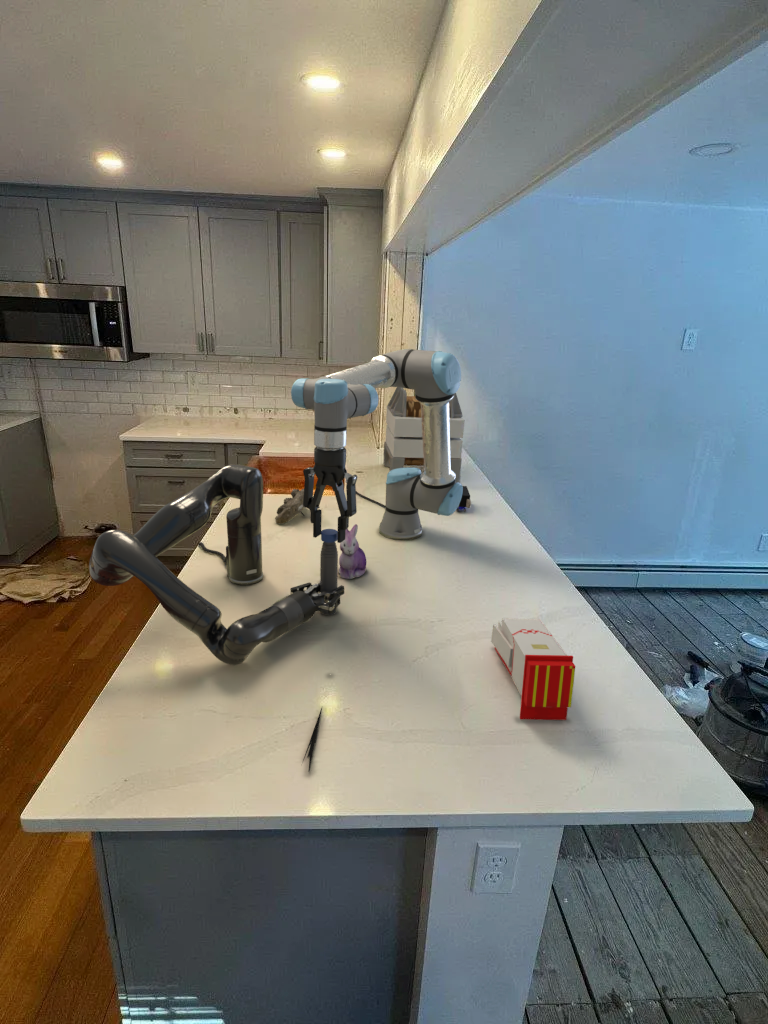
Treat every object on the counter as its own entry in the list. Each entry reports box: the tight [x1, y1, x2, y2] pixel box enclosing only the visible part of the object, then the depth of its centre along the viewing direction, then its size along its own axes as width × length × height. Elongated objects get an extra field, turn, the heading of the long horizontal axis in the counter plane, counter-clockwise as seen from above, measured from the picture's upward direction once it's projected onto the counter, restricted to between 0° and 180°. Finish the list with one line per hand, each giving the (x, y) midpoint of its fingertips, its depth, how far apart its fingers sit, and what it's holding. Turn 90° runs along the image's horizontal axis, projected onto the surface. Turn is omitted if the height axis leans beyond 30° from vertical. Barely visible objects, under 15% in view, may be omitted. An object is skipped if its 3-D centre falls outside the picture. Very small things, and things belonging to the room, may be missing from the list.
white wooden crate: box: [383, 387, 465, 483], centre depth 268 cm, size 34×33×41 cm
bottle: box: [319, 541, 339, 616], centre depth 144 cm, size 4×4×22 cm
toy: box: [490, 617, 576, 721], centre depth 122 cm, size 12×13×30 cm
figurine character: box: [456, 485, 472, 513], centre depth 228 cm, size 7×8×15 cm
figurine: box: [338, 523, 368, 580], centre depth 166 cm, size 9×10×15 cm
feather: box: [301, 673, 332, 771], centre depth 108 cm, size 2×28×2 cm
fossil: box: [274, 488, 306, 525], centre depth 211 cm, size 22×10×15 cm
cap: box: [320, 528, 338, 543], centre depth 140 cm, size 4×4×2 cm
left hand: (335, 586), depth 148 cm, fingers closed on bottle, 4 cm apart
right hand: (329, 538), depth 140 cm, fingers open, 6 cm apart
